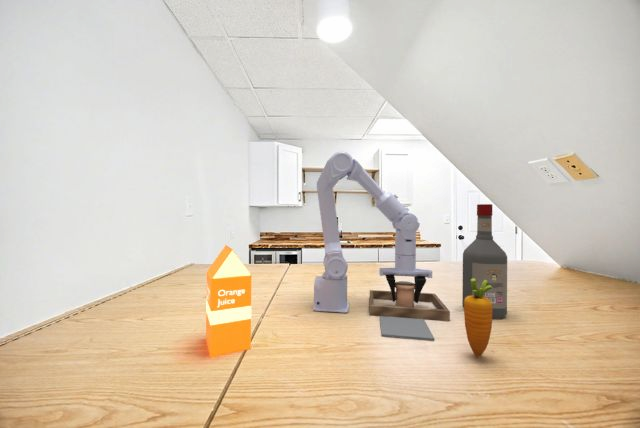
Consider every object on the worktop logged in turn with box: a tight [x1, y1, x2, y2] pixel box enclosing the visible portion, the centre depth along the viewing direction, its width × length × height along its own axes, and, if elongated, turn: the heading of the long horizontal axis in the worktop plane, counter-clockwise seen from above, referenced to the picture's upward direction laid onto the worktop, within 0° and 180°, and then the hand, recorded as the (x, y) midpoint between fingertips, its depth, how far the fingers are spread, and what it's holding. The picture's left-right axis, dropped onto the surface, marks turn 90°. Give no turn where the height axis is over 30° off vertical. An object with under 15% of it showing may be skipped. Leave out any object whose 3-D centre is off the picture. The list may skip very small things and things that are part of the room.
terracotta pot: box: [395, 280, 416, 308], centre depth 79 cm, size 6×6×7 cm
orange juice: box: [205, 244, 252, 358], centre depth 57 cm, size 8×9×20 cm
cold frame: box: [369, 289, 451, 322], centre depth 79 cm, size 20×16×2 cm
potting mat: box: [379, 316, 435, 342], centre depth 65 cm, size 11×11×1 cm
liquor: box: [461, 203, 508, 320], centre depth 76 cm, size 9×9×30 cm
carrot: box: [463, 278, 493, 358], centre depth 52 cm, size 5×5×15 cm
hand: (404, 301), depth 79 cm, fingers closed on terracotta pot, 6 cm apart
